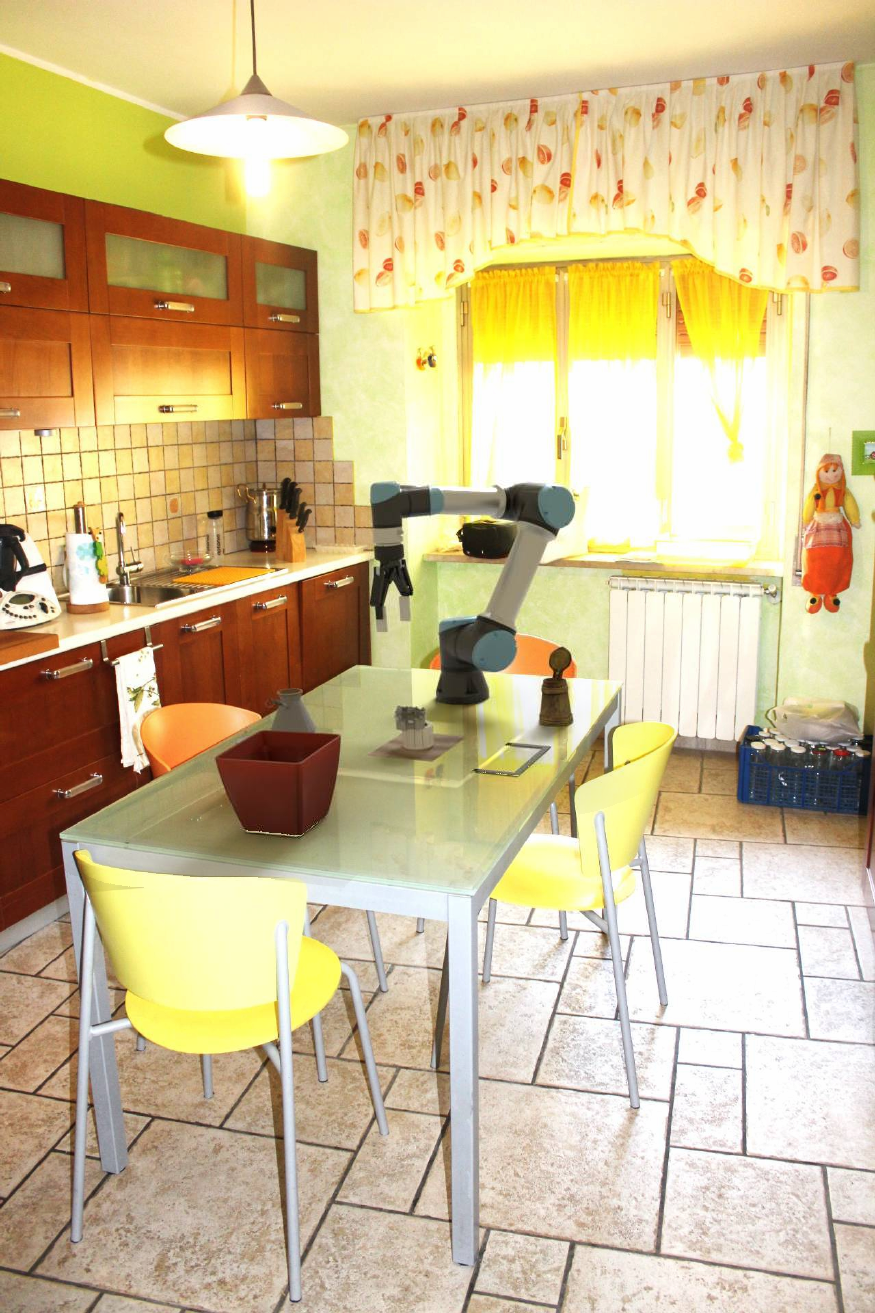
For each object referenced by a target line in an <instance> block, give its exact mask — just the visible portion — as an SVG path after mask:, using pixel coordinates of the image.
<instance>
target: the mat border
mask: <svg viewBox="0 0 875 1313" xmlns="http://www.w3.org/2000/svg"><path fill="white" fill-rule="evenodd" d="M507 745H508V746H509V745H510V746H509V747H519V748H521V747H522V748H532V749H540V750H538V751H537V752H536V753H535V754H534V755H533V756H531V757H530V758H529V759H528V760H526V762H524V763H523V764H522V765H520V766H519V768H517V770H515V771H514V772H513V771H503V770H494V769H493V770H492V769H484V768H483V769H482V768H473V770H472V771H476V772H475V773H479V772H484V773H483V774H489V773H499V774H500V773H501V774H507V775H506V776H508V775H519V774H520V773H521V774H522V772H523V771H524V770H525V769H526V768H527V769H528V768H529V767H531V766H532V765H533V764H534V763H535V762H536V761H538V760H539V758H541V757H542V756H543V755H545V754H546V752H547V751H549V750H550V749H552V746H551V745H542V744H529V743H522V742H521V743H519V742H510V741H509V742H507V743H506V744H504V746H507ZM531 764H532V765H531ZM530 765H531V766H530ZM528 766H529V767H528ZM527 769H526V770H527ZM526 770H525V771H526ZM525 771H524V772H525ZM485 772H486V773H485ZM524 772H523V773H524ZM521 774H520V775H521ZM520 775H519V776H520Z"/></svg>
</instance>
